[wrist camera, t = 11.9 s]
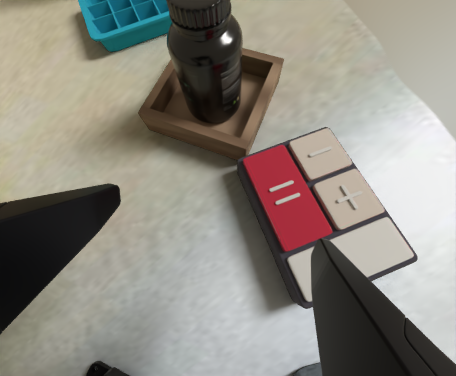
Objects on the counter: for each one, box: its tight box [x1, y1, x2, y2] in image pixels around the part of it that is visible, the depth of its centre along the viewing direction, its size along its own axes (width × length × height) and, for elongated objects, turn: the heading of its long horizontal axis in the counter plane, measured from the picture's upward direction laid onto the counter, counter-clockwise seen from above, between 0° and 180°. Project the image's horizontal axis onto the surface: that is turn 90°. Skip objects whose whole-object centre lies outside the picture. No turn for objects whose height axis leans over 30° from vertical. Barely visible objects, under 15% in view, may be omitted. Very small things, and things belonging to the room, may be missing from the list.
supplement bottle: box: [166, 0, 242, 123], centre depth 21 cm, size 7×7×12 cm
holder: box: [138, 48, 284, 160], centre depth 26 cm, size 13×13×3 cm
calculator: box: [237, 127, 417, 309], centre depth 21 cm, size 11×4×15 cm
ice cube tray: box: [78, 0, 172, 52], centre depth 32 cm, size 12×20×3 cm, turn 114°
